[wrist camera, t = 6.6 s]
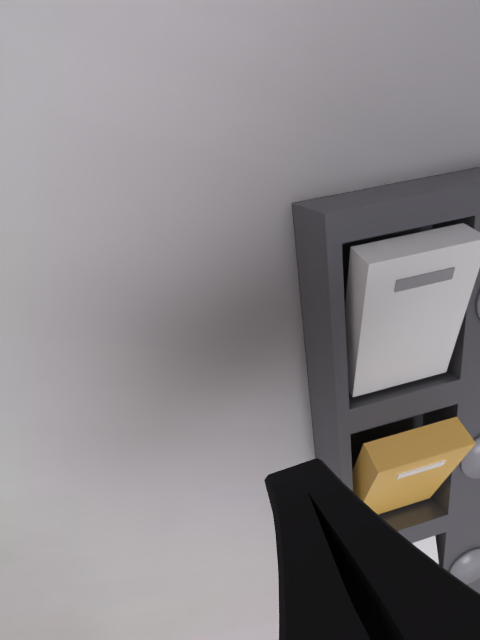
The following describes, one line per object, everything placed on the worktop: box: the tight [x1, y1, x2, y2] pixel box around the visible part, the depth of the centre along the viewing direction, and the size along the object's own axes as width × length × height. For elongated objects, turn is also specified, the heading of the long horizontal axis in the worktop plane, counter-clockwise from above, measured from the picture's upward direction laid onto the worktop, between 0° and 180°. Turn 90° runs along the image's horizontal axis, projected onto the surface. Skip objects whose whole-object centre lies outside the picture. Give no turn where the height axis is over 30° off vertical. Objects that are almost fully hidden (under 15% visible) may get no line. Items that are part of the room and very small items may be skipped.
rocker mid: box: [352, 417, 476, 514], centre depth 21 cm, size 5×7×2 cm
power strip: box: [292, 167, 480, 594], centre depth 23 cm, size 10×32×4 cm, turn 9°
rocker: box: [345, 223, 480, 397], centre depth 17 cm, size 5×7×2 cm
